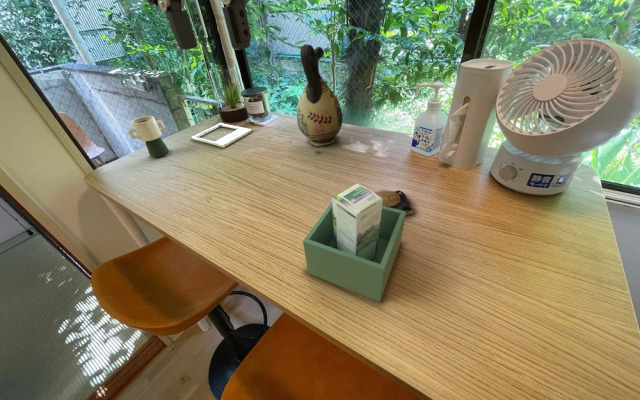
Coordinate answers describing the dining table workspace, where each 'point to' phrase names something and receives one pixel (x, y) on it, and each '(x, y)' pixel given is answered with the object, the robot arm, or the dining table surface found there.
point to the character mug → (149, 134)
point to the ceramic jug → (317, 102)
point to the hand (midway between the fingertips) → (214, 48)
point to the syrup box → (357, 221)
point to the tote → (351, 268)
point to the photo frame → (228, 138)
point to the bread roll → (395, 200)
